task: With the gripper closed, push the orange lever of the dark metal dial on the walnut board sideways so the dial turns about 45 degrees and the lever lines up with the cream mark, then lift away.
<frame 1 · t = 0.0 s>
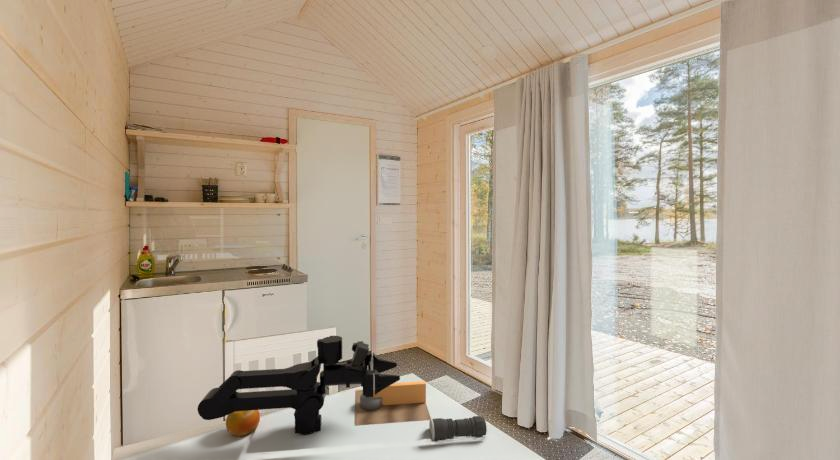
hand: (398, 370, 115), 17 cm above the table, fingers open, 9 cm apart
dial: (393, 393, 126), point 5 cm above the table, hinge at 0.0°
fruit: (243, 432, 113), on the table
flashlight: (457, 438, 111), on the table
dial board: (390, 408, 126), on the table
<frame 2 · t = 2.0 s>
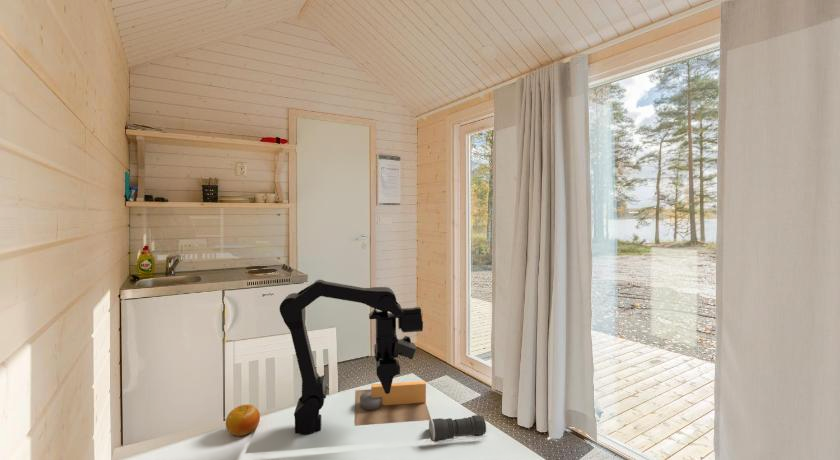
hand: (386, 386, 115), 12 cm above the table, fingers open, 8 cm apart
nothing on the table moved.
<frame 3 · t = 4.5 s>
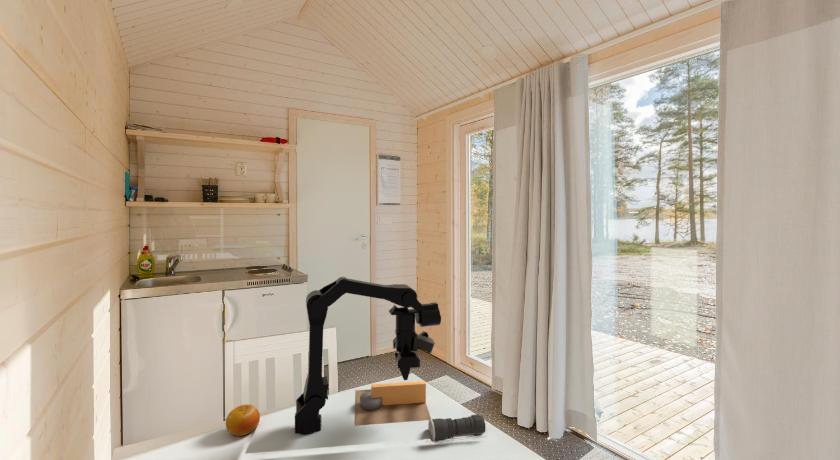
hand: (405, 379, 120), 12 cm above the table, fingers closed
nothing on the table moved.
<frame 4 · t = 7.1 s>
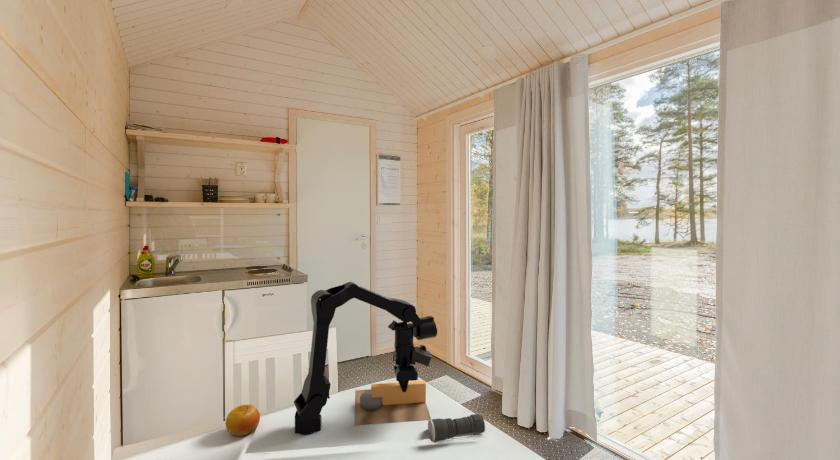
hand: (404, 391, 125), 6 cm above the table, fingers closed
dial: (393, 393, 126), point 5 cm above the table, hinge at 0.8°, touching gripper
everything else where it was.
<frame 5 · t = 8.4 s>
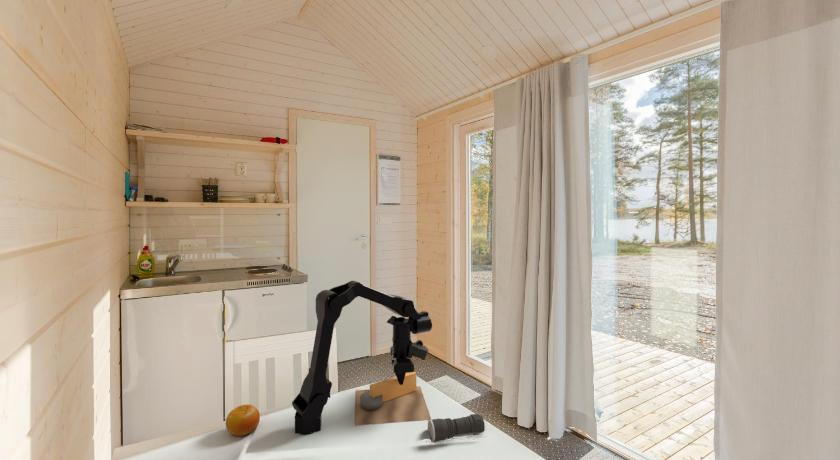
hand: (401, 384, 130), 6 cm above the table, fingers closed
dial: (389, 389, 130), point 5 cm above the table, hinge at 30.4°, touching gripper
everything else where it was.
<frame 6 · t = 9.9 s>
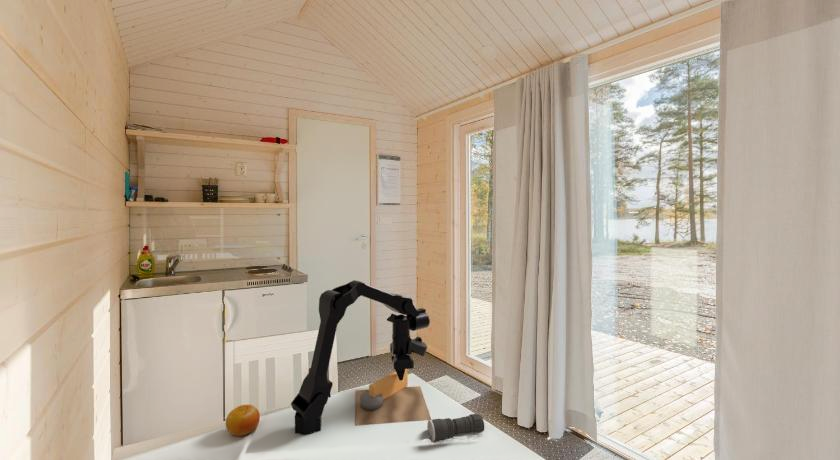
hand: (401, 380, 133), 6 cm above the table, fingers closed
dial: (385, 387, 131), point 5 cm above the table, hinge at 45.4°, touching gripper
everything else where it was.
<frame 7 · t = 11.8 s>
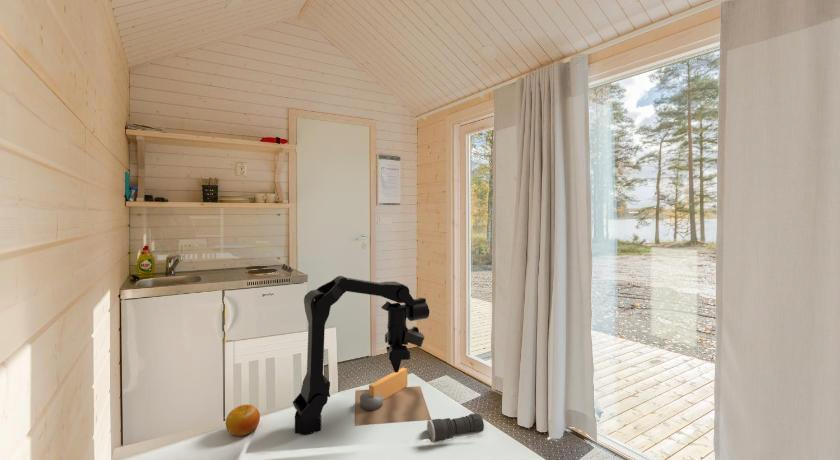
hand: (396, 372, 126), 12 cm above the table, fingers closed
dial: (385, 387, 131), point 5 cm above the table, hinge at 45.7°
everything else where it was.
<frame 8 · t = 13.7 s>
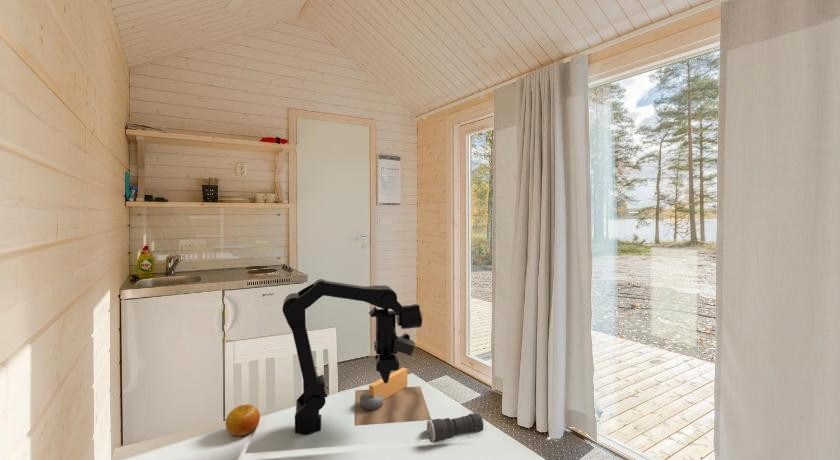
hand: (385, 382, 118), 12 cm above the table, fingers closed
nothing on the table moved.
at the end: dial at +46° (first picture: +0°) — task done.
